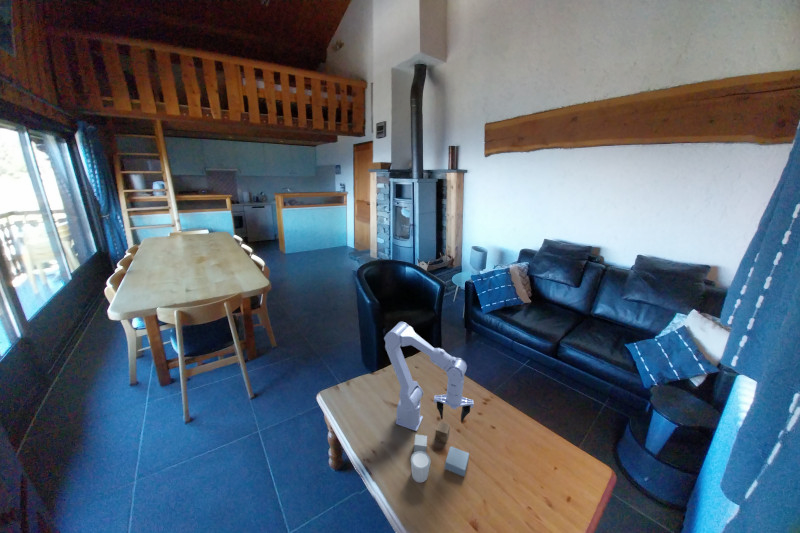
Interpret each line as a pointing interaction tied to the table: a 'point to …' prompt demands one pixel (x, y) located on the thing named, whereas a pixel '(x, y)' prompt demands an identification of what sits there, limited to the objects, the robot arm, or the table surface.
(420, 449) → the grey cube
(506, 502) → the table surface
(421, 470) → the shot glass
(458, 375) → the robot arm
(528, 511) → the table surface
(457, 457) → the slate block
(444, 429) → the walnut cube
